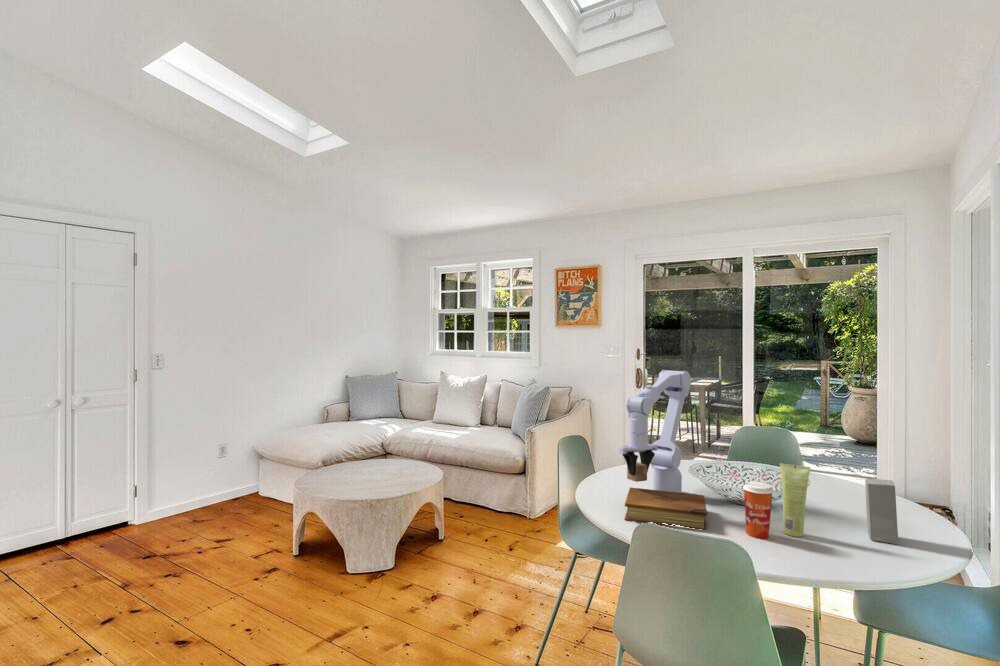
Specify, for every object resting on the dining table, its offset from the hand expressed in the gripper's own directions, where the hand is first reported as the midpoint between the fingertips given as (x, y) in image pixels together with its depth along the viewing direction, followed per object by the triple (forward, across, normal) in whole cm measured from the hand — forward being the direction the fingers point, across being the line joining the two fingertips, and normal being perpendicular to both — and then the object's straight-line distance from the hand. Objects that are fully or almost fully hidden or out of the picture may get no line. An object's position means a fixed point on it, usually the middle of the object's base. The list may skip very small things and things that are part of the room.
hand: (638, 473), depth 170 cm
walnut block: (+2, 0, 0) cm, 2 cm away
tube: (+10, -23, +38) cm, 46 cm away
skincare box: (+10, -43, +50) cm, 67 cm away
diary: (+11, -1, +12) cm, 16 cm away
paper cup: (+10, -13, +35) cm, 38 cm away
